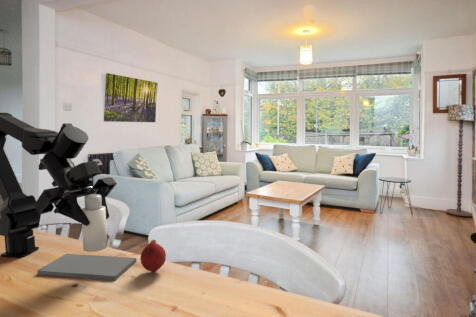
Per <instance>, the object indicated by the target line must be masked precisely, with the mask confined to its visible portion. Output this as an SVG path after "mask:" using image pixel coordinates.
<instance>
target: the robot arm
mask: <svg viewBox="0 0 476 317" xmlns="http://www.w3.org/2000/svg"><path fill="white" fill-rule="evenodd" d="M8 135H9V136H10V137H12V138H13V139H15V140H17V141H19V142H20V143H21V148H23V149H24V150H25V151H26V153H28V154H30V155H32V156H36V155H37V156H38V155H43V157H42V158H40V160H39V164H38V170H39V171H43V170H46V171H47V173H48V174H49V175H50V177H51V178H52V180H53V181H52V182H51V185H52V187H51V188H46V189H43V190H42V192H41V194H40V195H39V197H38V198H37V200H36V197H35V196H34V195H32V194H31V195H27V194H25V193H24V191H23V190H22V188H21V185H20V183H19V180H18V178H17V175H16V174H15V172H14V169H13V166H12V165H11V163H10V160H9V158H8V155H7V153H6V151H5V145H6V142H7V136H8ZM88 141H89V135H88V134H87V132H85V131H84V130H82V129H81V128H79V127H77V126H74V125H73V124H72V123H62V124H61V127H60V129H59V131H58V132H57V131H56V130H51V129H46V128H37V127H34V126H33V125H30V124H28V123H27V122H24V121H23V120H20V119H19V118H17V117H15V116H13V115H12V114H11V113H9V112H0V197H1V200H2V204H1V206H0V207H1V208H0V236H1V237H2V236H3V237H4V247H5V251H4V252H3V253H0V256H1V257H6V258H8V257H10V258H23V257H25V256H27V255H29V254H31V253H33V252H35V251H37V250H39V249H40V247H39V246H36V238H35V235H34V229H39V228H40V223H41V222H40V221H41V217H42V215H44V214H47V213H50V212H53V213H54V214H60V215H63V216H65V217H67V218H69V219H72V220H74V221H75V222H78V223H80V224H81V225H82V224H83V225H85V226H88V225H89V224H90V222H89V220H88V218H87V216H86V215H85V213H84V212H83V210H82V207H81V206H80V204H79V203H78V202H79V201H78V198H82V197H83V198H84V197H85V196H86V195H92V194H100V195H101V198H102V206H105V207H106V220H108V219H109V218H110V214H109V209H108V206H107V200H106V199H107V198H106V197H108V196H109V195H110V194H111V192H112V190H114V188H115V187H116V185H117V182H116V180H115V179H114V178H113V177H111V176H110V177H109V176H108V177H103V178H98V180H96V182H95V183H94V185H91V186H90V185H89V184H92V183H93V181H94V180H93V178H95V177H96V176H97V175H101V174H102V171H104V170H105V167H104V164H103V162H102V161H101V159H99V158H95V159H92V161H85V162H81V163H78V164H77V165H75V163H74V162H73V161H72V160H73V159H76V158H77V157H78V155H79V154H80V153H81V151H82V150H83V149H84V147H85V146H86V144H87V142H88Z"/></svg>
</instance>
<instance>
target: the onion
mask: <svg viewBox="0 0 476 317" xmlns="http://www.w3.org/2000/svg"><path fill="white" fill-rule="evenodd" d="M166 259H167V253H166V250H165V249H164V247H163V246H162V245H160V244H159V243H157V240H156V239H154V238H153V239H151V240H150V242H149V244H147V245H145V247H143V249H142V252H141V254H140V260H139V261H140V264H141V265H142V267H143V269H145V270H146V271H148V272H151V273H156V272H158V270H160V269H161V268H162V267H163V265H165V262H166Z"/></svg>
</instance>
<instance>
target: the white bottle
mask: <svg viewBox="0 0 476 317" xmlns="http://www.w3.org/2000/svg"><path fill="white" fill-rule="evenodd" d="M83 198H84V207H83V208H82V207H81V209H82V210H83V212H84V213H85V215H86V216H87V218H88V220H89V222H90V224H89V225H88V226H85V225H83V224H81V228H82V229H81V230H82V233H81V234H82V248H83V249H82V250H83V251H84V252H87V253H94V252H96V253H97V252H100V251H103V250H105V249H107V248H108V234H107V233H108V230H107V219H106V207H105V206H102V198H101V195H100V194H92V195H86V196H83Z"/></svg>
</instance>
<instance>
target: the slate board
mask: <svg viewBox="0 0 476 317" xmlns="http://www.w3.org/2000/svg"><path fill="white" fill-rule="evenodd" d="M135 263H137V257H126V256H111V255H109V256H108V255H96V254H95V255H94V254H93V255H92V254H81V253H80V254H79V253H65V254H63V255H62V256H60V257H58V258H56V259H54V260H53V261H51V262H49V263H48V264H45V265H44V266H42V267H41V268H38V269H37V271H36V272H37V273H36V274H37V276H38V275H40V276H41V275H42V276H50V277H51V276H53V277H54V276H55V277H67V278H80V279H81V278H82V279H96V280H105V281H107V280H108V281H116V280H118V279H119V278H120V277H121V276H122V275H123V274H124V273H125V272H127V271H128V270H129V269H130V268H131V267H132V266H133V265H134V264H135Z"/></svg>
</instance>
